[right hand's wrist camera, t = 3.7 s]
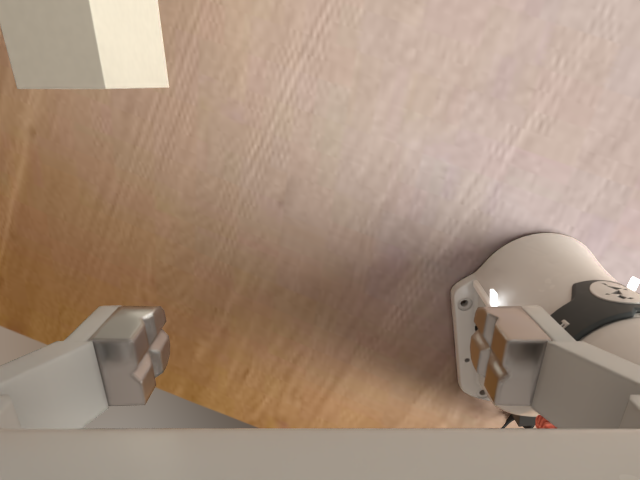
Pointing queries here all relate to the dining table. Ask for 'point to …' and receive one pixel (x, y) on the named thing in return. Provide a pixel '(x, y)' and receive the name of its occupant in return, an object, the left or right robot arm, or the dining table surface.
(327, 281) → the dining table surface
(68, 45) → the bar
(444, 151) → the dining table surface
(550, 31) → the dining table surface
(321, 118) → the dining table surface
